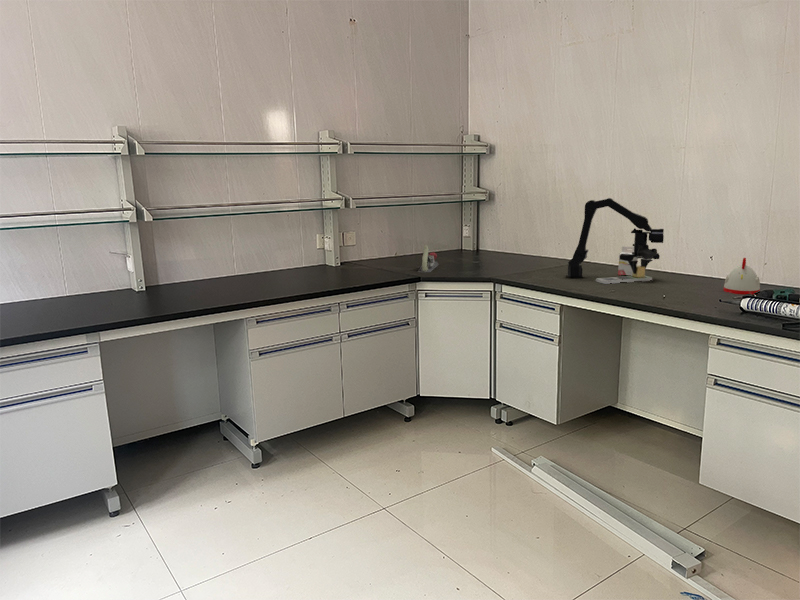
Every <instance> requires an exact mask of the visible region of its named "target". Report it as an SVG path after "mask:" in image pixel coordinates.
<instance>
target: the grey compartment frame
mask: <svg viewBox="0 0 800 600" xmlns="http://www.w3.org/2000/svg"><path fill="white" fill-rule="evenodd" d="M622 279H623V280H622ZM650 280H652V281H653V277H652V276H648V275H645V277H644V278H635V277H632V276H615V277H614V276H613V277H598V278H595V282H597V283H600V284H604V285H608V284H610V283H612V284H621V283H620V282H627V283H635V282H634V281H642V282H651V281H650Z"/></svg>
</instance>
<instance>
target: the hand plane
mask: <svg viewBox="0 0 800 600" xmlns="http://www.w3.org/2000/svg"><path fill="white" fill-rule="evenodd" d="M429 250H430V249H429V245H427V244H424V245H423V254H422V259H421V260H422V263H421V266H420V268H419V269H418V271H417V273H431V272H432V271H433V270H434V269H436V267H438V266H439V265H440V264H439V262H438V261H435V260H436V259H437V257H438V255H437V253H435V252H430V253H429Z"/></svg>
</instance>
